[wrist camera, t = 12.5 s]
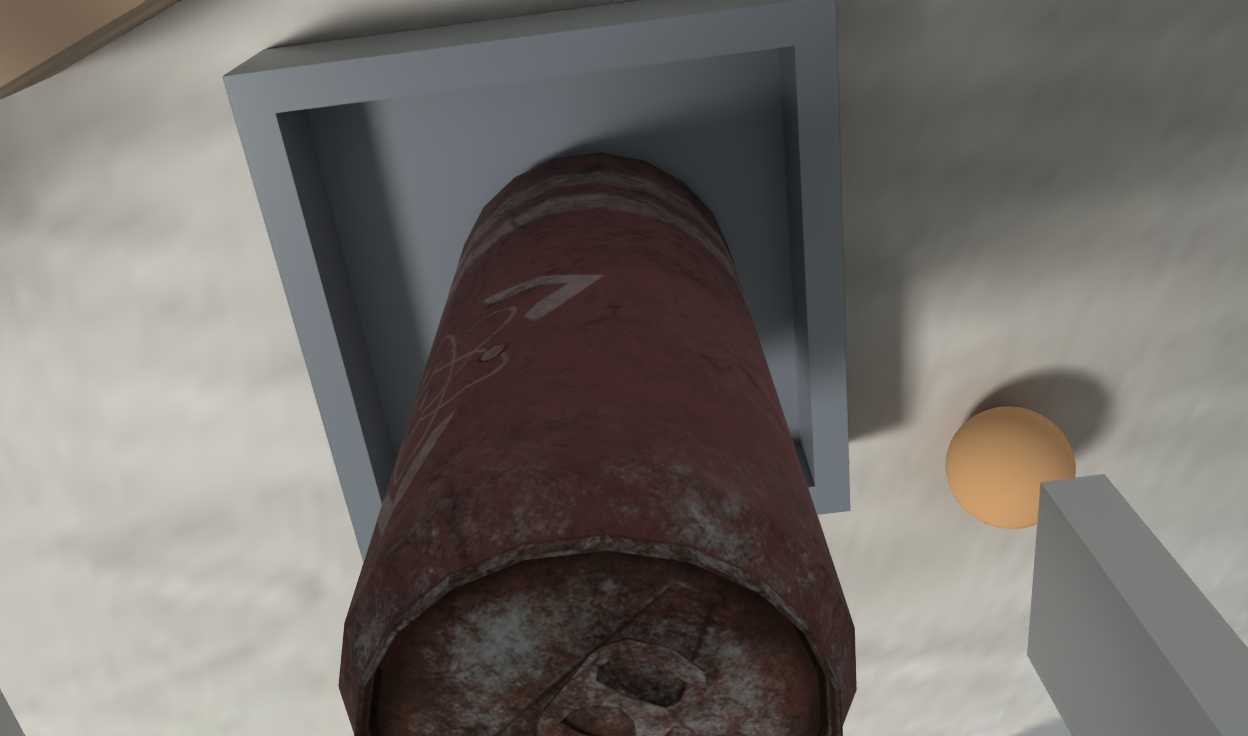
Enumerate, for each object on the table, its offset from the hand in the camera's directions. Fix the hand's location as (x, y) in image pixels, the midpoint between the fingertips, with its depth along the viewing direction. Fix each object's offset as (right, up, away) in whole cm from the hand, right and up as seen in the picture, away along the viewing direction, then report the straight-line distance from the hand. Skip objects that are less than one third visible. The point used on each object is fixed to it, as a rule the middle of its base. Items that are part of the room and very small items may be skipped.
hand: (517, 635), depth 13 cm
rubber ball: (+11, +1, +13) cm, 17 cm away
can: (+1, +5, +11) cm, 12 cm away
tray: (0, +6, +12) cm, 13 cm away
